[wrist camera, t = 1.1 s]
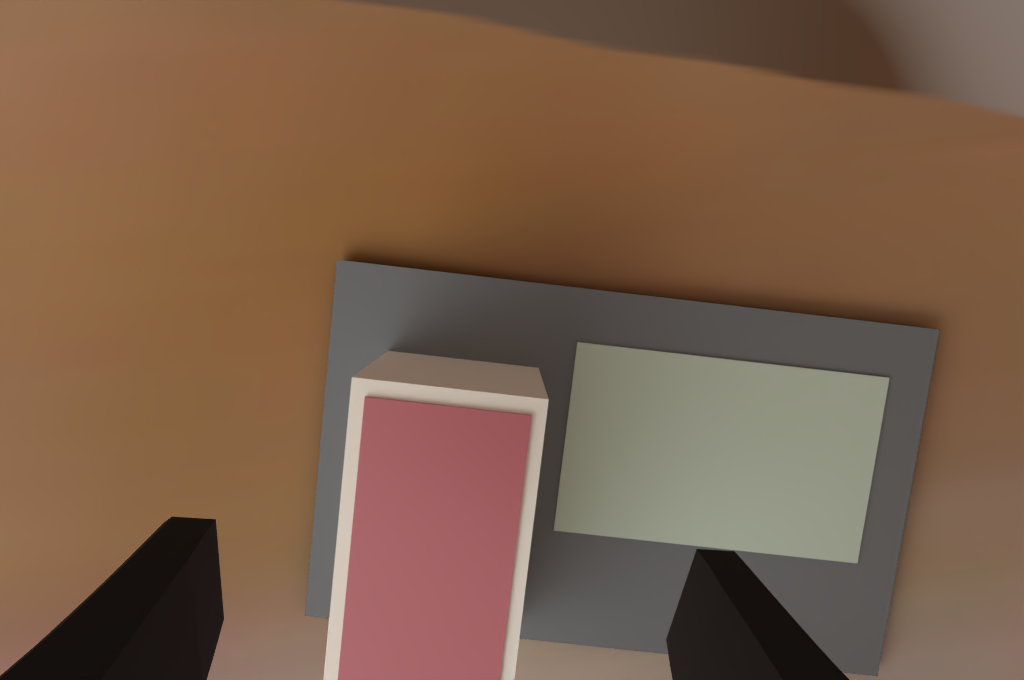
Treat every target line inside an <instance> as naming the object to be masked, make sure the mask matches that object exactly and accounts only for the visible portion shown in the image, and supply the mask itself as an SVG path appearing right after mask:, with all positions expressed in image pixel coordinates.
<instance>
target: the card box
mask: <svg viewBox="0 0 1024 680" xmlns="http://www.w3.org/2000/svg"><path fill="white" fill-rule="evenodd" d="M548 401H549V399H548V396H547V392H546V389H545V386H544V383H543V380H542V377H541V374H540V371H539V368H536V367H527V366H519V365H510V364H501V363H492V362H483V361H474V360H466V359H457V358H448V357H439V356H430V355H422V354H413V353H404V352H395V351H387V352H386V353H384V354H383V355H382V356H380V357H379V358H377V359H376V360H375V361H373V362H372V363H371V364H369V365H368V366H366V367H365V368H364V369H362V370H361V371H360V372H358V373H357V374H355V375H354V376H353V377H352V380H351V390H350V401H349V412H348V423H347V433H346V444H345V455H344V466H343V476H342V487H341V498H340V508H339V519H338V530H337V541H336V551H335V562H334V573H333V583H332V594H331V605H330V616H329V626H328V637H327V648H326V659H325V669H324V680H514V678H515V670H516V662H517V654H518V645H519V637H520V629H521V621H522V613H523V605H524V597H525V588H526V580H527V572H528V564H529V556H530V548H531V540H532V531H533V523H534V515H535V507H536V499H537V491H538V483H539V475H540V466H541V458H542V450H543V442H544V434H545V426H546V418H547V409H548Z"/></svg>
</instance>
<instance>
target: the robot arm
mask: <svg viewBox="0 0 1024 680" xmlns="http://www.w3.org/2000/svg"><path fill="white" fill-rule="evenodd" d="M223 620H224V613H223V601H222V589H221V577H220V565H219V553H218V541H217V529H216V519H200V518H184V517H171V518H170V519H168V520H167V521H166V522H164V523H163V524H162V525H161V526H160V527H159V528H158V529H157V530H156V531H155V532H154V533H153V534H152V535H151V536H150V537H149V538H148V539H147V540H146V541H145V542H144V543H143V544H142V545H141V546H140V547H139V548H138V549H137V550H136V551H135V552H134V553H133V554H132V555H131V556H130V557H129V558H128V559H127V560H126V561H125V562H124V563H123V564H122V565H121V566H120V567H119V568H118V569H117V570H116V571H115V572H114V573H113V574H112V575H111V576H110V577H109V578H108V579H107V580H106V581H105V582H104V583H103V584H101V585H100V586H99V587H98V588H97V589H96V590H95V591H94V592H93V593H92V594H91V595H90V596H89V597H88V598H87V599H86V600H85V601H84V602H82V603H81V604H80V605H79V606H78V607H77V608H76V609H75V610H74V611H73V612H72V613H71V614H70V615H68V616H67V617H66V618H65V619H64V620H63V621H62V622H61V623H60V624H59V625H58V626H57V627H55V628H54V629H53V630H52V631H51V632H50V633H49V634H48V635H47V636H46V637H45V638H43V639H42V640H41V641H40V642H39V643H38V644H37V645H36V646H35V647H33V648H32V649H31V650H30V651H29V652H28V653H26V654H25V655H24V656H23V657H22V658H21V659H19V660H18V661H17V662H16V663H15V664H14V665H12V666H11V667H10V668H9V669H8V670H7V671H5V672H4V673H3V674H2V675H1V676H0V680H207V676H208V673H209V670H210V666H211V663H212V660H213V656H214V653H215V649H216V645H217V642H218V638H219V635H220V631H221V628H222V624H223ZM666 642H667V648H668V654H669V660H670V667H671V673H672V678H673V680H849V679H848V678H847V677H846V676H845V675H844V674H843V673H842V671H841V670H840V669H839V668H838V667H837V666H836V665H835V664H834V663H833V662H832V661H831V660H830V658H829V657H828V656H827V655H826V654H825V653H824V652H823V651H822V650H821V649H820V648H819V646H818V645H817V644H816V643H815V642H814V641H813V640H812V639H811V638H810V636H809V635H808V634H807V633H806V632H805V631H804V630H803V629H802V627H801V626H800V625H799V624H798V623H797V622H796V621H795V619H794V618H793V617H792V616H791V615H790V614H789V613H788V611H787V610H786V609H785V608H784V607H783V606H782V605H781V604H780V602H779V601H778V600H777V599H776V598H775V597H774V595H773V594H772V593H771V592H770V591H769V590H768V589H767V587H766V586H765V585H764V584H763V583H762V582H761V581H760V579H759V578H758V577H757V576H756V575H755V574H754V572H753V571H752V570H751V569H750V568H749V567H748V566H747V565H746V563H745V562H744V561H743V560H742V559H741V558H740V557H739V556H738V555H737V553H736V552H735V551H724V550H707V549H696V552H695V555H694V558H693V561H692V564H691V567H690V570H689V573H688V576H687V579H686V582H685V585H684V588H683V591H682V594H681V597H680V600H679V603H678V606H677V608H676V611H675V614H674V617H673V620H672V623H671V626H670V629H669V632H668V635H667V638H666Z"/></svg>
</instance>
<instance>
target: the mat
mask: <svg viewBox="0 0 1024 680" xmlns="http://www.w3.org/2000/svg"><path fill="white" fill-rule="evenodd" d="M939 331H940V330H939V329H932V328H923V327H914V326H906V325H897V324H888V323H880V322H871V321H863V320H854V319H845V318H837V317H828V316H820V315H811V314H802V313H794V312H785V311H776V310H768V309H759V308H751V307H742V306H733V305H725V304H716V303H707V302H699V301H690V300H682V299H673V298H664V297H656V296H647V295H638V294H630V293H621V292H613V291H604V290H595V289H587V288H578V287H569V286H561V285H552V284H544V283H535V282H526V281H518V280H509V279H501V278H492V277H483V276H475V275H466V274H457V273H449V272H440V271H432V270H423V269H414V268H406V267H397V266H388V265H380V264H371V263H363V262H354V261H345V260H337V263H336V274H335V285H334V296H333V307H332V319H331V330H330V341H329V352H328V363H327V374H326V386H325V397H324V408H323V419H322V430H321V441H320V453H319V464H318V475H317V486H316V497H315V509H314V520H313V531H312V542H311V553H310V564H309V576H308V587H307V598H306V609H305V616H311V617H321V618H329V616H330V605H331V594H332V583H333V573H334V562H335V551H336V541H337V530H338V519H339V508H340V498H341V487H342V476H343V466H344V455H345V444H346V433H347V423H348V412H349V401H350V390H351V380H352V377H353V376H354V375H355V374H357V373H358V372H360V371H361V370H362V369H364V368H365V367H366V366H368V365H369V364H371V363H372V362H373V361H375V360H376V359H377V358H379V357H380V356H382V355H383V354H384V353H386V352H387V351H395V352H404V353H413V354H422V355H430V356H439V357H448V358H457V359H466V360H474V361H483V362H492V363H501V364H510V365H519V366H527V367H536V368H539V371H540V374H541V377H542V380H543V383H544V386H545V389H546V392H547V396H548V399H549V401H548V409H547V418H546V426H545V434H544V442H543V450H542V458H541V466H540V475H539V483H538V491H537V499H536V507H535V515H534V523H533V531H532V540H531V548H530V556H529V564H528V572H527V580H526V588H525V597H524V605H523V613H522V621H521V629H520V637H519V638H520V639H530V640H539V641H549V642H558V643H568V644H577V645H587V646H596V647H606V648H615V649H625V650H634V651H644V652H653V653H663V654H668V648H667V642H666V638H667V635H668V632H669V629H670V626H671V623H672V620H673V617H674V614H675V611H676V608H677V606H678V603H679V600H680V597H681V594H682V591H683V588H684V585H685V582H686V579H687V576H688V573H689V570H690V567H691V564H692V561H693V558H694V555H695V552H696V549H707V550H724V551H735V552H736V553H737V555H738V556H739V557H740V558H741V559H742V560H743V561H744V562H745V563H746V565H747V566H748V567H749V568H750V569H751V570H752V571H753V572H754V574H755V575H756V576H757V577H758V578H759V579H760V581H761V582H762V583H763V584H764V585H765V586H766V587H767V589H768V590H769V591H770V592H771V593H772V594H773V595H774V597H775V598H776V599H777V600H778V601H779V602H780V604H781V605H782V606H783V607H784V608H785V609H786V610H787V611H788V613H789V614H790V615H791V616H792V617H793V618H794V619H795V621H796V622H797V623H798V624H799V625H800V626H801V627H802V629H803V630H804V631H805V632H806V633H807V634H808V635H809V636H810V638H811V639H812V640H813V641H814V642H815V643H816V644H817V645H818V646H819V648H820V649H821V650H822V651H823V652H824V653H825V654H826V655H827V656H828V657H829V658H830V660H831V661H832V662H833V663H834V664H835V665H836V666H837V667H838V668H839V669H840V670H841V671H842V672H844V673H853V674H863V675H872V676H878V671H879V665H880V660H881V654H882V648H883V643H884V637H885V632H886V626H887V621H888V615H889V609H890V604H891V598H892V593H893V587H894V582H895V576H896V570H897V565H898V559H899V554H900V548H901V542H902V537H903V531H904V526H905V520H906V515H907V509H908V503H909V498H910V492H911V487H912V481H913V476H914V470H915V464H916V459H917V453H918V448H919V442H920V436H921V431H922V425H923V420H924V414H925V409H926V403H927V397H928V392H929V386H930V381H931V375H932V370H933V364H934V358H935V353H936V347H937V342H938V336H939Z"/></svg>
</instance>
